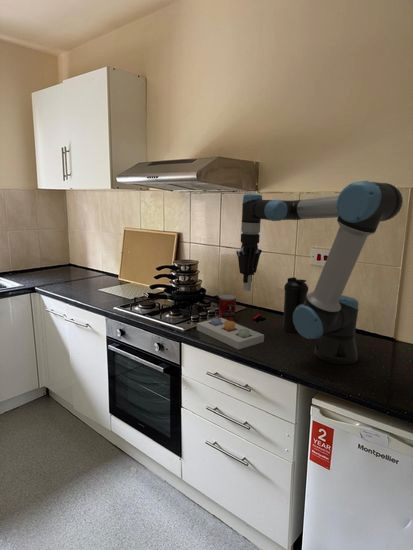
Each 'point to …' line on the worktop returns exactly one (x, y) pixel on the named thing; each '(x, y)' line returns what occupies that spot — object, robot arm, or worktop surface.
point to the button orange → (229, 326)
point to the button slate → (216, 321)
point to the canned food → (227, 307)
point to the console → (230, 334)
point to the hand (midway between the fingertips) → (246, 290)
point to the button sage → (243, 333)
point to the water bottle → (293, 301)
